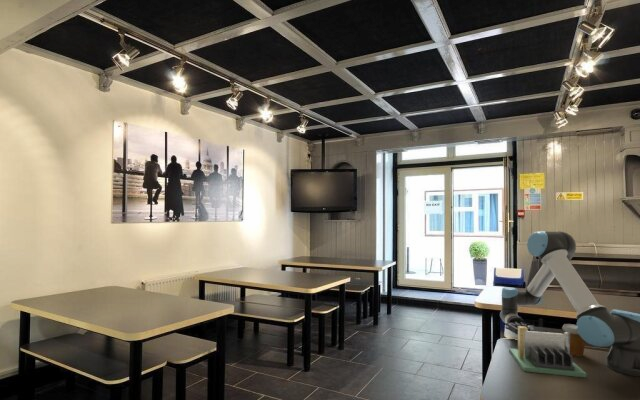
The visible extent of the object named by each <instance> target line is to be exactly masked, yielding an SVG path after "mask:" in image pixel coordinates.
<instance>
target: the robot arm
mask: <svg viewBox="0 0 640 400" xmlns="http://www.w3.org/2000/svg"><path fill="white" fill-rule="evenodd" d="M526 247H527V251H528V253H529V254H530V255H531V256H534V257H536V258H537V257H538V258H539V261H540V262H541V263H542V265H541V266H540V268H539V270H538V271H537V272H536V274H535V275H534V277H533V278H532V279H531V281H530V282H529V284H527V287H526V288H525V289H524V290H518V289H517V288H516V287H509V286H505V287H503V288H502V290H501V310H500V312H499V317H500V319H501V321H502V322H503V323H504V325H505V326H504V328H505V330H509V331H510V332H512V333H513V334H514V335H515V334H516V335H517V336H518V326H523V327H527V328H528V331H535V329H534V325H533V324H532V325H531V324H530V325H528V324H526V323H525V321H524V319H523V318H522V317H520V316H519V315H518V307H520V306H521V307H522V306H537V305H541V304H542V303H543V294H544V292H545V291H546V290H547V288H548V287H549V285H550V284H551V283H552V281H554V279H556V281H557V282H558V284H559V285H560V287H561V289H562V290H563V292H564V293H565V295H566V297H567V298H568V300H569V301H570V303H571V305H572V307H574V309H575V311H576V312H577V313H576V316H575V318H576V319H577V320H576V321H577V322H576V325H577V331H578V333H579V335H580V336H581V338H582V339H583V340H584V341H585V343H587V344H589V345H591V346H594V347H602V348H604V347H605V348H607V347H610V349H609V351H608V353H607V357H606V358H605V359H606V360H605V366H607V367H608V368H609V369H610V370H613V371H616V372H619V373H622V374H626V375H629V376H634V377H640V313H636V312H630V311H626V310H620V309H611V310H610V311H609V310H608V308H607V307H606V306H605V305H602V304H599V302H598V300H596V297H595V296H594V295H593V294H592V292H591V291H590V289H589V288H588V286H587V285H586V283H585V281H583V279H582V277H581V276H580V275H579V273H578V272H577V270H576V268H575V267H574V266H573V264H572V263H571V260H572V258H573V257H574V255H575V253H576V250H577V243H576V240H575V238H574V237H573V236H572V235H571V234H569V233H568V232H565V231H559V230H558V231H545V230H540V231H533V232H532V233H531V234H530V235H529V237H528V238H527V242H526Z"/></svg>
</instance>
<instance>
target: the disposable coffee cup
mask: <svg viewBox="0 0 640 400" xmlns="http://www.w3.org/2000/svg"><path fill="white" fill-rule="evenodd" d="M561 329H562V330H563V333H564V332H569V333H570V354H571V356H574V355H575V357H583V356H584V353H585V346H586V341H584V340H583V339H582V338H581V336H580V335H579V333H578V331H577V324H572V323H564V324H563V325H562V327H561Z"/></svg>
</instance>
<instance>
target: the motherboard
mask: <svg viewBox="0 0 640 400" xmlns="http://www.w3.org/2000/svg"><path fill="white" fill-rule="evenodd" d="M508 352H509V354H510V355H511V356H512V357H513V360H515V361H516V363H517V364H518V365H519V367H520V368H521V369H522V371H524V372H528V373H529V372H530V373H540V374H547V375H548V374H551V375H558V376H569V377H570V376H571V377H579V378H587V372H585V370H583V369H582V368H581V367H580V366H578V365H577V364H576V363H575V362H574V361H573V360H572V365H573V366H574V371H570V370H560V369H550V368H540V367H535V366H534V365H533V364H532V363H531V362H530V361H529V358H524V359H520V358H519V357H518V348H508Z"/></svg>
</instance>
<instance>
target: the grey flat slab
mask: <svg viewBox="0 0 640 400" xmlns="http://www.w3.org/2000/svg"><path fill="white" fill-rule="evenodd" d="M530 346H531V347H533V348H534V349H535V350H536V351H537V352H538V347H540V348H541V349H542V350H543V351H544V352H545V353H546V348H548V349H549V350H551V351H552V352H553V353H554V349H557V350H558V351H559V352H560V353H561V354H562V349H564V333H560V332H549V331H548V332H545V331H535V330H534V331H524V358H529V356H530Z"/></svg>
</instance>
